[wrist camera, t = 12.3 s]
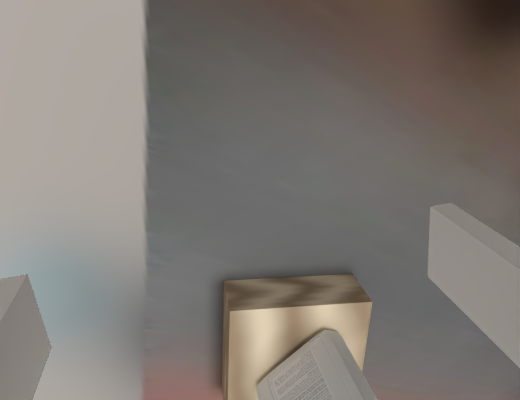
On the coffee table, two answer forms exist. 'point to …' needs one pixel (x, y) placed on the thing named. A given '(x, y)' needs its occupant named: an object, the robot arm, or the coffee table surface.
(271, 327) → the birch box
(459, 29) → the coffee table surface
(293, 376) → the photo printer
